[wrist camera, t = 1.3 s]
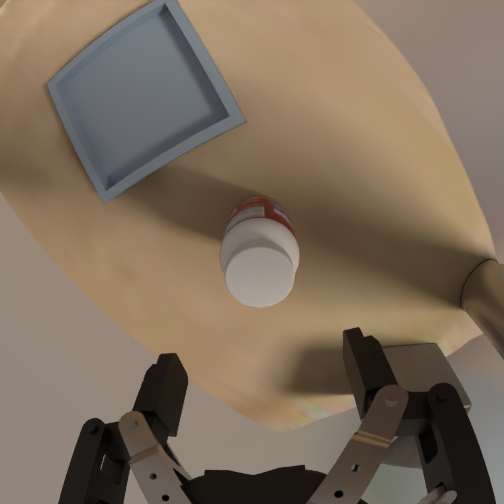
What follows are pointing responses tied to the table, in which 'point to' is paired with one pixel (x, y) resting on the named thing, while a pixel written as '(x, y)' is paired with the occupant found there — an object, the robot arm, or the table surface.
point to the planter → (418, 390)
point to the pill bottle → (259, 253)
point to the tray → (142, 98)
